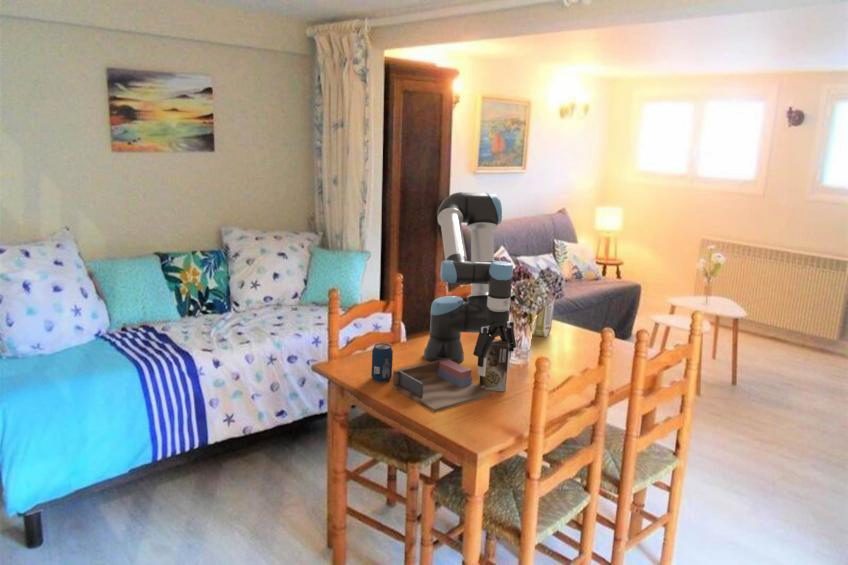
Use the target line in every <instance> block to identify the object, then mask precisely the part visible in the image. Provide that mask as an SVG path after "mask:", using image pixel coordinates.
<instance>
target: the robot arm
mask: <svg viewBox="0 0 848 565" xmlns="http://www.w3.org/2000/svg"><path fill="white" fill-rule="evenodd" d="M502 208H503V207H502V202H501V199H500V197H499V196H498V195H497V194H494V193H488V192H485V193H482V192H464V191H463V192H461V191H459V192H455V193H452V194H449V195H448V196H447V197H445V198H444V200H442V201H441V203H440V205H439V207H438V209H437V214H436V218H437V223H438V225H439V226H440V227H441V228H440V229H441V237H442V245H443V251H444V252H443V253H444V260H442V261H441V263H440V272H439V273H440V280H441V282H443V283H449V284H450V283H451V284H471V285H470V286H471V288H470V289H471V290H470V291H471V293H470V294H469V295H468V296H467V297H466V299H467V301H466V300H465V301H464V298H463V297H462V296H459V295H457V296H456V295H446V296H441V297H438V298H435V299H434V300H432V302H431V307H430V311H429V312H430V313H429V314H430V325H429V338H428V340H427V344H426V346H425V348H424V351H423V358H424V360H426V361H427V362H428V363H429V362H433V361H437V360H441V359H446V358H451V361H453V362H455V363H458V364H460V363H463V361H464V359H465V358H464V357H465V352H464V349H463V344H462V341H461V334H462V333H475V334H476V333H477V334H478V337H477V340H476V342H475V346H474V350H473V353H472V354H473V356H475V357H477V366H478V369H477V375H479V376H480V375H481V376H483V377H484V376H485V372H486V357H485V355H486V353H487V351H488V349H489V347H490V345H491V343H492V341H493V340H494V339H496V338H497V337H499V338H500V340H504V341H509V352H508V365H507V371H508V370H510V360H511V357H512V356H511V355H512V352H514V351H515V349H516V348H517V343H516V337H515V330H514V329H515V328H514V325H515V322H513V321H511V320H510V310H509V309H511V308H510V307H511V296H512V285H513V276H514V266H513V264H512V263H511V262H508V261H503V260H495V258H494V257H495V254H494V252H495V250H494V248H495V247H494V244H495V242H494V241H495V239H494V238H495V236H494V234H495V233H494V232H495V231H496V230H497V229H498V225H500V224H501V223H502V218H503V209H502ZM462 224H467V226H466V227H467V229H468V231H470V234H471V236H470V237H471V238H470V241H471V243H470V244H471V245H470V248H471V250H470V251H471V253H470V254H471V255H470V256H471V261H470V260H468V258H467V251H466V244H465V239H464V232H463V226H462Z"/></svg>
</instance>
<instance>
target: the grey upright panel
mask: <svg viewBox="0 0 848 565" xmlns="http://www.w3.org/2000/svg"><path fill="white" fill-rule="evenodd" d="M398 386H400V387H401V388H403V389H405V390H407V391H408V392H410V393H412V394H414V395H415V396H417V397H419V398H423V383H422V382H420V381H418V380H417V379H415V378H413V377H411V376H409V375H407V374H405V373H404V372H402V371H399V381H398Z"/></svg>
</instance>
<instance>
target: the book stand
mask: <svg viewBox="0 0 848 565" xmlns="http://www.w3.org/2000/svg"><path fill="white" fill-rule="evenodd" d="M446 360H451V358H446V359H441V360H437V361H433V362H429V361H428V362H426V363H421V364H420V363H419V364H417V365H413V366H408V367H403V368H399V369H396V370H392V376H393V377H392V389H394V390H396V391H398V393H401V394H402V395H404V396H406V397H408V398H409V399H412V401H414V402H416V403H418V404H420V405H421V406H423V407H424V408H426V409H428V410H430V411H431V412H434V413H437V412H440V411H445V410H447V409H451V408H454V407H458V406H461V405H463V404H467V403H471V402H474V401H478V400H481V399H484V398H487V397H491V396H492V392H491V391H490V390H485V389H483V388H481V387H479V385H477V384H475V383H473V382H472V384H471V385H468V386H464V387H459V386H457V385H455V384H453V383H451V382H449V381H447V380H445V379H443V378H441V377H439V376H437V375H438V369H439V362H442V361H446ZM399 371H402V372H404V373H405V374H407V375H409V376H411V377H413V378H415V379H417V380H418V381H420V382H422V383H423V398H419V397H417V396H415V395H414V394H412V393H410V392H408V391H407V390H405V389H403V388H401V387H400V386H398V381H399Z"/></svg>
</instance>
